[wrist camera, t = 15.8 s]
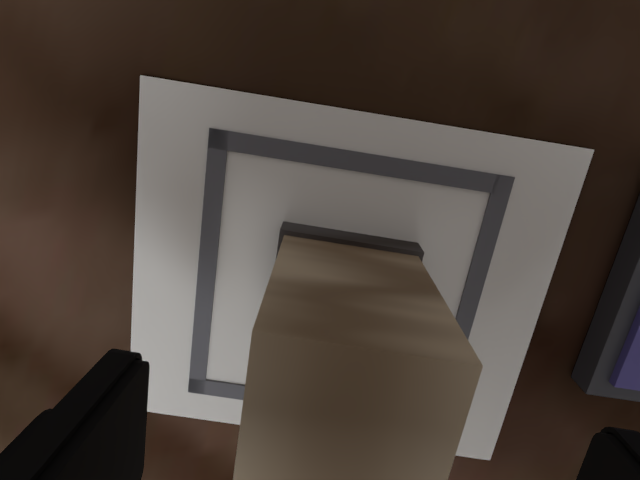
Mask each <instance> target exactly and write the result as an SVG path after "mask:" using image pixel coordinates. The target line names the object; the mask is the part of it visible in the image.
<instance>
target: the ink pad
mask: <svg viewBox="0 0 640 480" xmlns="http://www.w3.org/2000/svg"><path fill="white" fill-rule="evenodd" d="M571 378H572V379H573V380H574V381H575V382H576V383H577V384H578V386H579V387H580V388H581V389H582V390H583V391H584V392H585V393H586V394H590V395H597V396H603V397H610V398H617V399H624V400H630V401H637V402H640V194H639V197H638V200H637V202H636V205H635V208H634V210H633V213H632V216H631V218H630V221H629V224H628V226H627V229H626V232H625V234H624V237H623V240H622V242H621V245H620V248H619V250H618V253H617V256H616V258H615V261H614V263H613V266H612V269H611V271H610V274H609V277H608V279H607V282H606V285H605V287H604V290H603V293H602V295H601V298H600V301H599V303H598V306H597V309H596V311H595V314H594V317H593V319H592V322H591V325H590V327H589V330H588V332H587V335H586V338H585V340H584V343H583V346H582V348H581V351H580V354H579V356H578V359H577V362H576V364H575V367H574V370H573V372H572V375H571Z"/></svg>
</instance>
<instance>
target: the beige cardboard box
mask: <svg viewBox="0 0 640 480" xmlns="http://www.w3.org/2000/svg"><path fill="white" fill-rule="evenodd" d="M423 256H424V251H423V250H422V248H421V246H420V245H419V243H417V242H411V241H404V240H398V239H392V238H385V237H379V236H373V235H367V234H360V233H354V232H348V231H342V230H335V229H329V228H323V227H316V226H310V225H304V224H298V223H291V222H285V221H283V223H282V226H281V228H280V233H279V240H278V247H277V254H276V261H275V264H274V267H273V270H272V273H271V276H270V279H269V282H268V285H267V288H266V291H265V294H264V297H263V300H262V303H261V306H260V309H259V312H258V315H257V318H256V321H255V324H254V327H253V330H252V336H251V344H250V351H249V359H248V367H247V375H246V382H245V390H244V398H243V406H242V413H241V421H240V429H239V437H238V445H237V452H236V460H235V468H234V476H233V480H448V478H449V474H450V471H451V468H452V465H453V461H454V458H455V455H456V452H457V448H458V445H459V442H460V439H461V436H462V432H463V429H464V426H465V423H466V419H467V416H468V413H469V410H470V407H471V403H472V400H473V397H474V394H475V390H476V387H477V384H478V381H479V377H480V374H481V371H482V368H483V365H482V363H481V362H480V360H479V358H478V356H477V355H476V353H475V351H474V350H473V348H472V346H471V345H470V343H469V341H468V339H467V338H466V336H465V334H464V333H463V331H462V329H461V328H460V326H459V324H458V322H457V321H456V319H455V317H454V316H453V314H452V312H451V311H450V309H449V307H448V305H447V304H446V302H445V300H444V299H443V297H442V295H441V294H440V292H439V290H438V288H437V287H436V285H435V283H434V282H433V280H432V278H431V277H430V275H429V273H428V271H427V270H426V268H425V266H424V265H423V263H422V260H423Z"/></svg>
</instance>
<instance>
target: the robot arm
mask: <svg viewBox="0 0 640 480" xmlns="http://www.w3.org/2000/svg"><path fill="white" fill-rule="evenodd" d="M149 370H150V366H149V362H148V361H142V356H141V354H140V353H138V352H131V351H125V350H118V349H111V350H109V351H108V352H107V353H106V354H105V355H104V356H103V357H102V358H101V359H100V360H99V361H98V362H97V363H96V364H95V365H94V367H93V368H92V369H91V370H90V371H89V372H88V373H87V374H86V375H85V376H84V377H83V378H82V379H81V380H80V381H79V382H78V383H77V384H76V385H75V386H74V387H73V388H72V389H71V390H70V391H69V392H68V393H67V395H66V396H65V397H64V398H63V399H62V400H61V401H60V402H59V403H58V404H57V405H56V406H55V407H54V408H53V409H48V410H45V411H43V412H42V413H41V414H39V415H38V416H37V417H36V418H35V419H34V420H33V421H32V422H31V423H30V424H29V425H28V426H27V427H26V428H25V429H24V430H23V431H22V432H21V433H20V434H19V435H18V436H17V437H16V438H15V439H14V440H13V441H12V442H11V443H10V444H9V445H8V446H7V447H6V448H5V449H4V450H3V451H2V452H1V453H0V480H141V477H142V473H143V468H144V454H145V437H146V420H147V403H148V387H149ZM576 480H640V433H639V432H637V431H633V430H626V429H620V428H614V427H605V428H604V429H602V430H601V432H600V433H596V434H595V435H594V436H593V438H592V440H591V443H590V445H589V448H588V451H587V453H586V456H585V458H584V461H583V463H582V466H581V469H580V471H579V474H578V476H577V479H576Z"/></svg>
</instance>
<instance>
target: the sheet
mask: <svg viewBox="0 0 640 480" xmlns="http://www.w3.org/2000/svg"><path fill="white" fill-rule="evenodd" d="M593 153H594V150H593V149H587V148H581V147H575V146H569V145H563V144H557V143H551V142H545V141H539V140H532V139H526V138H520V137H514V136H508V135H502V134H496V133H490V132H484V131H478V130H472V129H466V128H459V127H453V126H447V125H441V124H435V123H429V122H423V121H417V120H411V119H405V118H399V117H393V116H387V115H380V114H374V113H368V112H362V111H356V110H350V109H344V108H338V107H332V106H326V105H320V104H314V103H307V102H301V101H295V100H289V99H283V98H277V97H271V96H265V95H259V94H253V93H247V92H241V91H234V90H228V89H222V88H216V87H210V86H204V85H198V84H192V83H186V82H180V81H174V80H168V79H162V78H155V77H149V76H143V75H140V93H139V122H138V151H137V180H136V209H135V238H134V267H133V296H132V325H131V352H138V353H140V354H141V356H142V361H148V362H149V366H150V370H149V387H148V403H147V412H154V413H161V414H168V415H175V416H182V417H189V418H196V419H203V420H210V421H217V422H224V423H231V424H238V425H240V421H241V413H242V406H243V398H244V390H245V382H246V375H247V367H248V359H249V351H250V344H251V336H252V330H253V327H254V324H255V321H256V318H257V315H258V312H259V309H260V306H261V303H262V300H263V297H264V294H265V291H266V288H267V285H268V282H269V279H270V276H271V273H272V270H273V267H274V264H275V261H276V254H277V247H278V240H279V233H280V228H281V226H282V223H283V221H285V222H291V223H298V224H304V225H310V226H316V227H323V228H329V229H335V230H342V231H348V232H354V233H360V234H367V235H373V236H379V237H385V238H392V239H398V240H404V241H411V242H417V243H419V245H420V246H421V248H422V250H423V251H424V256H423V260H422V263H423V265H424V266H425V268H426V270H427V271H428V273H429V275H430V277H431V278H432V280H433V282H434V283H435V285H436V287H437V288H438V290H439V292H440V294H441V295H442V297H443V299H444V300H445V302H446V304H447V305H448V307H449V309H450V311H451V312H452V314H453V316H454V317H455V319H456V321H457V322H458V324H459V326H460V328H461V329H462V331H463V333H464V334H465V336H466V338H467V339H468V341H469V343H470V345H471V346H472V348H473V350H474V351H475V353H476V355H477V356H478V358H479V360H480V362H481V363H482V365H483V368H482V371H481V374H480V377H479V381H478V384H477V387H476V390H475V394H474V397H473V400H472V403H471V407H470V410H469V413H468V416H467V419H466V423H465V426H464V429H463V432H462V436H461V439H460V442H459V445H458V448H457V452H456V455H455V456H462V457H469V458H476V459H483V460H490V459H491V456H492V453H493V451H494V448H495V445H496V442H497V439H498V436H499V433H500V430H501V427H502V424H503V421H504V418H505V415H506V412H507V409H508V406H509V403H510V400H511V397H512V394H513V391H514V388H515V385H516V382H517V379H518V376H519V373H520V370H521V367H522V364H523V361H524V358H525V355H526V352H527V349H528V346H529V343H530V340H531V337H532V334H533V331H534V328H535V325H536V323H537V320H538V317H539V314H540V311H541V308H542V305H543V302H544V299H545V296H546V293H547V290H548V287H549V284H550V281H551V278H552V275H553V272H554V269H555V266H556V263H557V260H558V257H559V254H560V251H561V248H562V245H563V242H564V239H565V236H566V233H567V230H568V227H569V224H570V221H571V218H572V215H573V212H574V209H575V206H576V203H577V200H578V198H579V195H580V192H581V189H582V186H583V183H584V180H585V177H586V174H587V171H588V168H589V165H590V162H591V159H592V156H593Z"/></svg>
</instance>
